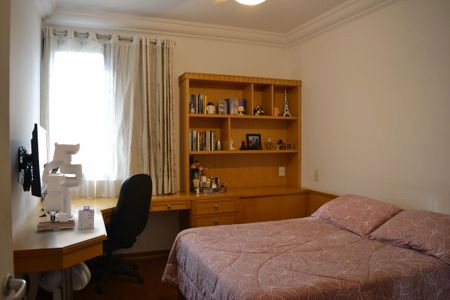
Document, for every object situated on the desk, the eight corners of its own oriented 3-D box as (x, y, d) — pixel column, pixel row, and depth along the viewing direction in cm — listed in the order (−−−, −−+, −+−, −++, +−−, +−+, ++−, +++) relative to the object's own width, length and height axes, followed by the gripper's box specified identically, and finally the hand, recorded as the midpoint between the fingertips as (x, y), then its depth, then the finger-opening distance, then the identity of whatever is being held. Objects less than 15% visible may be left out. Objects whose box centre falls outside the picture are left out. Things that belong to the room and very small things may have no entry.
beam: (37, 229, 222) (37, 221, 222) (74, 226, 232) (74, 219, 232) (37, 232, 214) (37, 224, 214) (75, 229, 224) (75, 222, 224)
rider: (59, 222, 226) (59, 213, 225) (67, 221, 228) (67, 212, 228) (59, 223, 222) (59, 214, 222) (68, 223, 224) (68, 214, 224)
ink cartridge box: (94, 226, 233) (94, 205, 233) (93, 228, 228) (94, 207, 228) (78, 227, 230) (79, 206, 230) (77, 229, 225) (78, 207, 225)
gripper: (65, 192, 228) (65, 219, 228) (40, 193, 221) (39, 221, 221) (66, 193, 222) (65, 221, 222) (40, 194, 215) (39, 223, 215)
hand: (52, 221), depth 222 cm, fingers closed
